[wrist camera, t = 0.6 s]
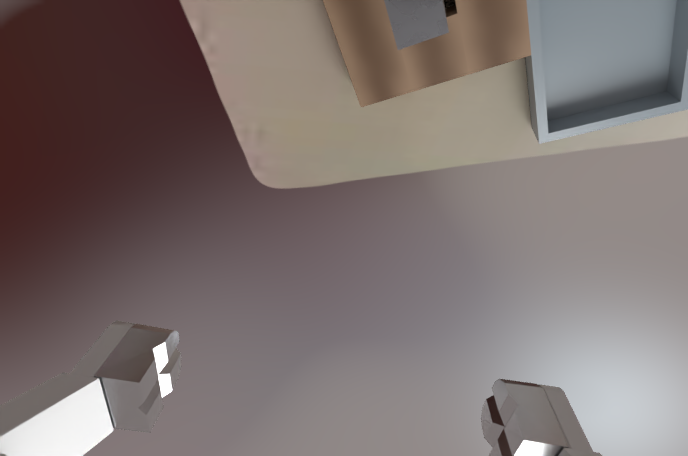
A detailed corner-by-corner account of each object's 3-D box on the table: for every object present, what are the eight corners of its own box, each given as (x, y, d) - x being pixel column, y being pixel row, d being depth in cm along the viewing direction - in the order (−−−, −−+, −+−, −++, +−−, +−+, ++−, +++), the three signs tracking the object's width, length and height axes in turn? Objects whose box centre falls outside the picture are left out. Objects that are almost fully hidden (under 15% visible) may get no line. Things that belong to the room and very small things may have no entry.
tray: (693, -84, 33) (720, -82, 30) (672, 93, 42) (691, 108, 39) (517, -18, 38) (525, -12, 35) (532, 128, 47) (539, 143, 44)
